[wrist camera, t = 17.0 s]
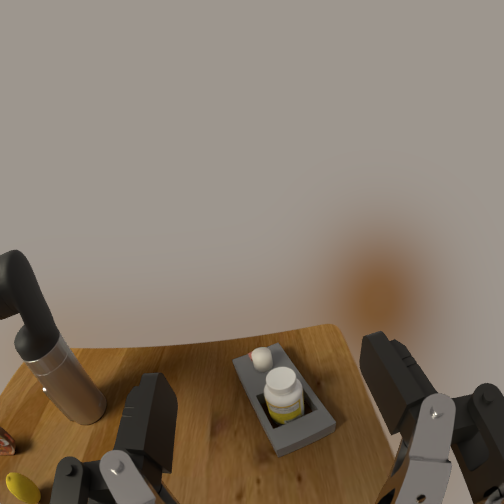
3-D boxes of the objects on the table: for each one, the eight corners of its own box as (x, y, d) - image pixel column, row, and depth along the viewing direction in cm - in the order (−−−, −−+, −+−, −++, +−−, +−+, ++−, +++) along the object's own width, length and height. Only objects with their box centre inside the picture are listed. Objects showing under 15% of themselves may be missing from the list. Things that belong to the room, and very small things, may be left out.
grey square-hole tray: (278, 457, 29) (273, 442, 27) (235, 370, 47) (228, 348, 45) (334, 431, 32) (337, 412, 29) (279, 353, 49) (276, 330, 47)
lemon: (33, 482, 20) (3, 460, 16) (52, 492, 19) (20, 472, 16) (27, 502, 15) (-5, 482, 11) (45, 514, 14) (11, 496, 11)
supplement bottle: (279, 396, 40) (272, 358, 36) (309, 405, 37) (308, 368, 33) (263, 420, 36) (253, 386, 32) (295, 431, 33) (291, 398, 29)
